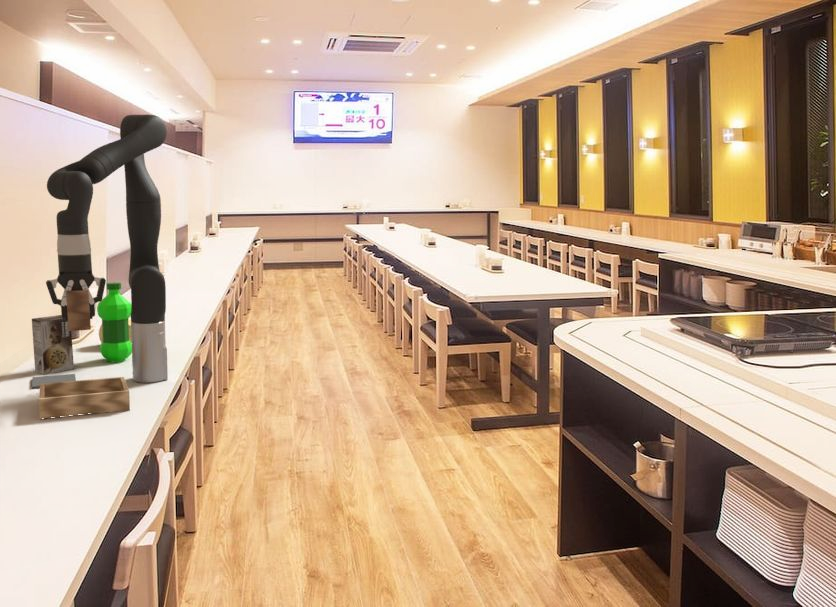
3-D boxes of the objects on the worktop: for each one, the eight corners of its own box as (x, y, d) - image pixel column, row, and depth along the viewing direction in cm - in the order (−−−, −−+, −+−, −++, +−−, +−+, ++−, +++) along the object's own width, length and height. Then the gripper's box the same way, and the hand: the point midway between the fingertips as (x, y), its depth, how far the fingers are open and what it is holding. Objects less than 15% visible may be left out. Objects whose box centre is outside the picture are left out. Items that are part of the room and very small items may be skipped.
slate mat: (75, 375, 211) (75, 373, 211) (76, 385, 202) (76, 382, 201) (32, 379, 206) (32, 377, 206) (31, 388, 197) (31, 386, 197)
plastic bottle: (139, 357, 236) (136, 281, 232) (123, 364, 226) (120, 286, 222) (110, 355, 237) (107, 280, 233) (93, 363, 227) (89, 284, 223)
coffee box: (64, 365, 223) (61, 314, 220) (74, 369, 219) (71, 317, 216) (33, 370, 216) (30, 318, 213) (43, 374, 212) (40, 320, 209)
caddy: (124, 394, 193) (124, 376, 193) (129, 410, 180) (129, 391, 179) (41, 402, 185) (40, 383, 184) (40, 419, 171) (38, 399, 171)
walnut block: (89, 326, 185) (87, 287, 184) (90, 329, 181) (88, 290, 179) (68, 327, 183) (65, 288, 181) (68, 331, 179) (66, 291, 177)
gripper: (104, 250, 186) (108, 315, 188) (41, 252, 179) (46, 319, 182) (106, 252, 179) (110, 319, 182) (42, 254, 172) (47, 324, 175)
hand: (78, 319), depth 182 cm, fingers closed on walnut block, 5 cm apart
